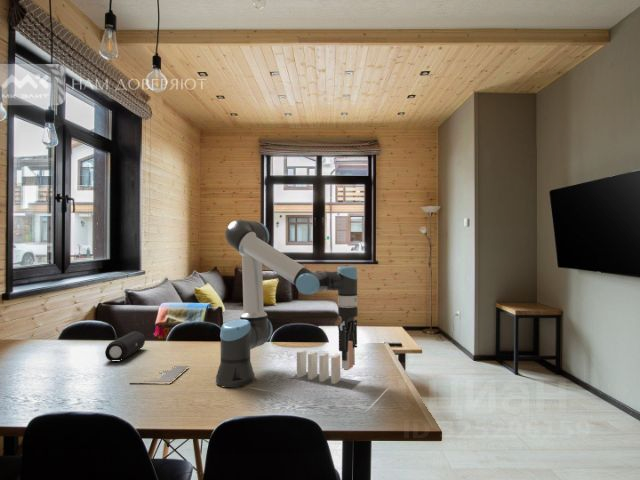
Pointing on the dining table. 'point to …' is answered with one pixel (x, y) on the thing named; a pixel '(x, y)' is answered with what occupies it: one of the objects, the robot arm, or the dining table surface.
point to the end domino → (350, 354)
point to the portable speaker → (125, 346)
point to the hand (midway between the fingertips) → (348, 366)
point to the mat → (342, 383)
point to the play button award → (170, 374)
